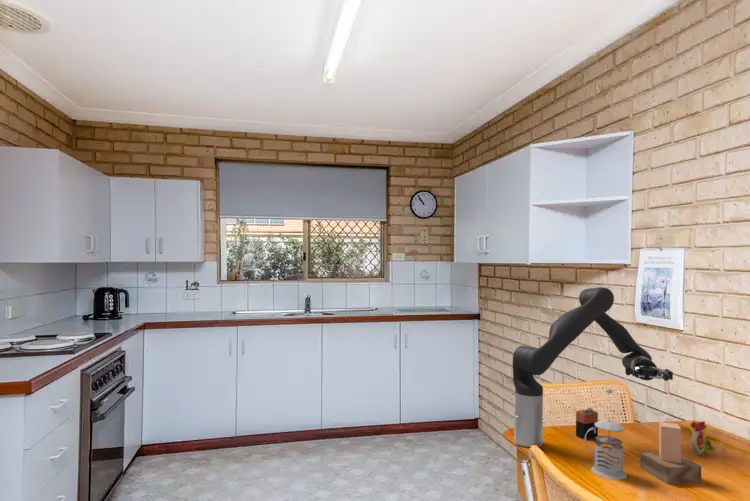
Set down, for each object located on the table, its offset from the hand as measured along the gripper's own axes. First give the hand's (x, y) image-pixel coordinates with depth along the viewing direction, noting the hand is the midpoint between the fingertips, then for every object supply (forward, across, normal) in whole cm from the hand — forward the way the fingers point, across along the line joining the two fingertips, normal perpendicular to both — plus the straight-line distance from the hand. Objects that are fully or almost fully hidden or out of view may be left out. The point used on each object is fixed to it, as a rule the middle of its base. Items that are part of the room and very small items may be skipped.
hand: (651, 376), depth 161 cm
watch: (-27, +20, +25) cm, 42 cm away
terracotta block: (+17, +2, +21) cm, 27 cm away
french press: (+23, -16, +26) cm, 38 cm away
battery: (-8, -19, +26) cm, 33 cm away
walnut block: (+17, +2, +26) cm, 31 cm away
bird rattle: (-6, +16, +25) cm, 31 cm away
